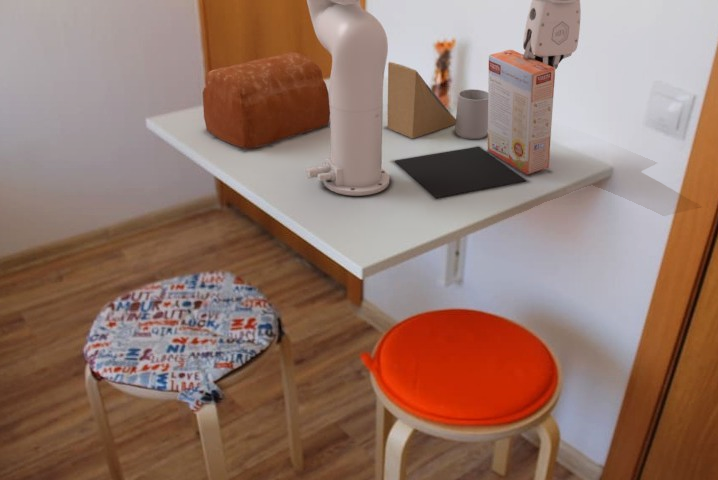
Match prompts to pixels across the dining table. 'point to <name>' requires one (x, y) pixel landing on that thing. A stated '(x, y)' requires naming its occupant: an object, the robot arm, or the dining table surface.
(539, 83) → the cracker box
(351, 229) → the dining table surface
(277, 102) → the bread
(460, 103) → the cup
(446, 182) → the mat
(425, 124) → the sandwich container
